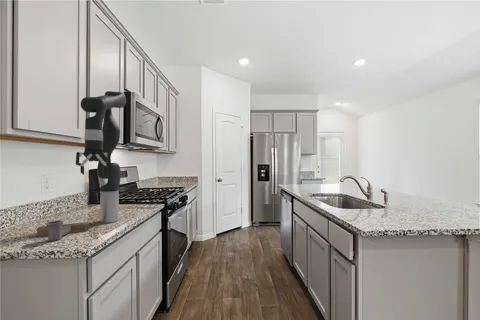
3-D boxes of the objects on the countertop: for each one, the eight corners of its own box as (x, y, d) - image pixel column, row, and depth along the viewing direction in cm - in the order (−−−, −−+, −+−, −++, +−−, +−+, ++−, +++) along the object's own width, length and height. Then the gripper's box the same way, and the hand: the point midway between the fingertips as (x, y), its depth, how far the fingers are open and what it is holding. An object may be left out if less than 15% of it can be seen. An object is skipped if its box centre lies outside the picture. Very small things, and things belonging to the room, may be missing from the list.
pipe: (73, 234, 118) (74, 217, 118) (55, 242, 105) (55, 223, 105) (60, 234, 117) (60, 217, 118) (40, 243, 105) (40, 224, 105)
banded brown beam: (38, 234, 116) (38, 226, 116) (88, 228, 127) (88, 221, 127) (36, 236, 113) (36, 228, 113) (88, 230, 123) (88, 223, 123)
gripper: (110, 141, 125) (110, 173, 125) (76, 139, 117) (76, 174, 117) (111, 140, 118) (111, 174, 118) (75, 138, 111) (75, 175, 111)
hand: (93, 174), depth 118 cm, fingers open, 8 cm apart
